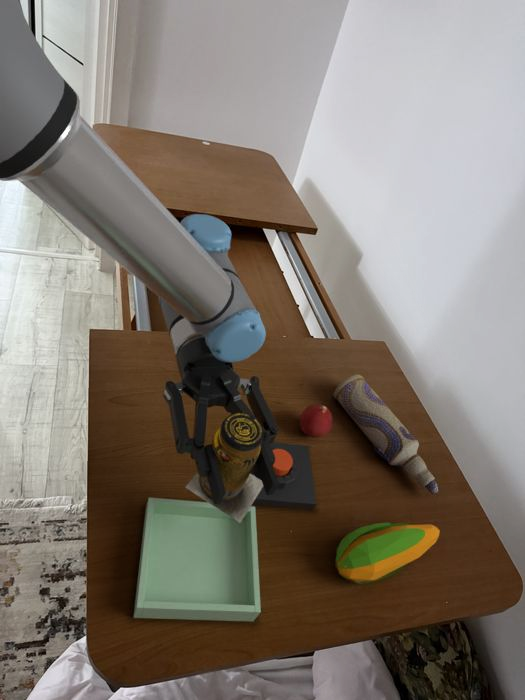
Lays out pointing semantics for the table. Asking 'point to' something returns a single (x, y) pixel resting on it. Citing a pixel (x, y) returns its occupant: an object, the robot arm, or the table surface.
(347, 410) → the decorative bottle
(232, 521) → the mint green tray
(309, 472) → the button base
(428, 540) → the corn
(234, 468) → the condiment
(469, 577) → the table surface
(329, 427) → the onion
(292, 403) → the table surface
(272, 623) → the table surface
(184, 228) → the robot arm
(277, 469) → the button
